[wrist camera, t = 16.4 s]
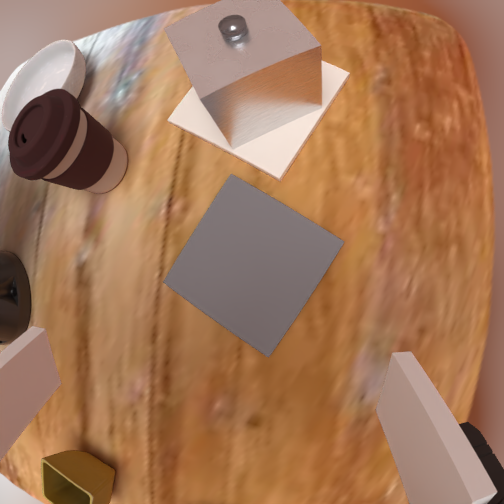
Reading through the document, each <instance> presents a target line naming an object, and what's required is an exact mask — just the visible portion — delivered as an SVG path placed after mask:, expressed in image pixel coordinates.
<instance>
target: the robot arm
mask: <svg viewBox="0 0 504 504" xmlns="http://www.w3.org/2000/svg"><path fill="white" fill-rule="evenodd" d="M30 308H31V299H30V288H29V283H28V278H27V275H26V272H25V269H24V267H23V265H22V263H21V262H20V260H19V259H18V258H17V256H15V255H14V254H13V253H11V252H6V251H0V345H6V344H10V345H9V346H7V347H6V348H5V349H4V350H3V351H1V352H0V461H1V460H2V458H3V457H4V456H5V454H6V453H7V452H8V450H9V449H10V448H11V446H12V445H13V444H14V442H15V441H16V440H17V438H18V437H19V436H20V435H21V433H22V432H23V431H24V429H25V428H26V427H27V426H28V424H29V423H30V422H31V421H32V419H33V418H34V417H35V416H36V414H37V413H38V412H39V411H40V409H41V408H42V407H43V406H44V404H45V403H46V402H47V401H48V399H49V398H50V397H51V396H52V395H53V393H54V392H55V391H56V390H57V388H58V387H59V386H60V385H61V384H62V383H61V380H60V377H59V374H58V371H57V368H56V364H55V361H54V358H53V354H52V351H51V347H50V344H49V340H48V336H47V332H46V329H44V328H39V327H35V326H32V327H31V328H29V329H28V330H27V331H26V329H27V326H28V323H29V317H30ZM25 331H26V332H25ZM376 412H377V415H378V418H379V420H380V423H381V425H382V428H383V431H384V433H385V436H386V439H387V441H388V444H389V447H390V450H391V452H392V455H393V458H394V461H395V463H396V466H397V469H398V472H399V475H400V477H401V480H402V483H403V486H404V489H405V492H406V495H407V498H408V501H409V504H504V469H503V467H502V466H501V464H500V463H499V461H498V459H497V458H496V456H495V454H493V453H492V449H491V448H490V446H489V445H487V442H486V440H485V438H484V437H483V435H482V434H481V432H480V431H479V430H478V429H477V428H475V427H474V426H473V425H471V424H470V423H469V422H466V423H461V424H458V423H457V421H456V419H455V418H454V416H453V415H452V413H451V411H450V410H449V408H448V407H447V405H446V403H445V402H444V400H443V399H442V397H441V396H440V394H439V393H438V391H437V390H436V388H435V386H434V385H433V383H432V382H431V380H430V379H429V377H428V376H427V374H426V373H425V371H424V370H423V368H422V367H421V366H420V364H419V363H418V361H417V360H416V358H415V357H414V355H413V354H412V352H396V353H392V356H391V359H390V363H389V367H388V370H387V374H386V378H385V381H384V384H383V388H382V391H381V394H380V398H379V401H378V404H377V407H376Z"/></svg>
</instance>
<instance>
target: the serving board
mask: <svg viewBox="0 0 504 504" xmlns="http://www.w3.org/2000/svg"><path fill="white" fill-rule="evenodd" d="M348 78H349V72H347V71H344V70H342V69H340V68H338V67H336V66H333V65H331V64H329V63H326V62H324V61H322V108H321V109H319V110H316V111H314V112H312V113H310V114H307V115H305V116H303V117H301V118H298V119H296V120H294V121H292V122H289V123H287V124H285V125H283V126H281V127H279V128H276V129H274V130H272V131H270V132H268V133H266V134H264V135H262V136H260V137H258V138H256V139H254V140H252V141H250V142H248V143H245V144H243V145H241V146H240V147H238V148H236V149H234V150H233V149H232V148H231V146H230V145H229V143H228V141H227V140H226V138H225V137H224V135H223V134H222V132H221V131H220V129H219V128H218V126H217V125H216V123H215V122H214V120H213V119H212V117H211V116H210V114H209V113H208V111H207V110H206V108H205V107H204V105H203V104H202V102H201V101H200V99H199V97H198V95H197V93H196V91H195V89H194V87H193V86H192V88H191V89H190V90H189V92H188V93H187V94H186V96H185V97H184V98H183V99H182V101H181V102H180V103H179V105H178V106H177V107H176V109H175V110H174V112H173V113H172V114H171V116H170V117H169V118H168V122H169V123H170V124H172V125H174V126H176V127H178V128H180V129H182V130H184V131H187V132H189V133H191V134H192V135H194V136H196V137H198V138H200V139H202V140H204V141H206V142H208V143H210V144H212V145H214V146H216V147H218V148H220V149H222V150H224V151H225V152H227V153H229V154H231V155H233V156H235V157H237V158H239V159H240V160H242V161H244V162H246V163H248V164H250V165H251V166H253V167H255V168H257V169H259V170H260V171H262V172H264V173H266V174H268V175H269V176H271V177H273V178H275V179H276V180H278V181H280V182H281V180H282V179H283V177H284V176H285V174H286V172H287V171H288V169H289V168H290V166H291V165H292V163H293V162H294V160H295V159H296V157H297V156H298V154H299V152H300V151H301V149H302V148H303V146H304V145H305V143H306V142H307V140H308V139H309V137H310V136H311V134H312V133H313V131H314V130H315V128H316V127H317V125H318V124H319V122H320V120H321V119H322V117H323V116H324V114H325V113H326V111H327V110H328V108H329V107H330V105H331V104H332V102H333V101H334V99H335V98H336V96H337V95H338V93H339V92H340V90H341V89H342V87H343V86H344V84H345V83H346V81H347V80H348Z"/></svg>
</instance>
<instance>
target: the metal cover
mask: <svg viewBox="0 0 504 504" xmlns="http://www.w3.org/2000/svg"><path fill="white" fill-rule="evenodd" d="M164 30H165V32H166V34H167V36H168V38H169V40H170V42H171V44H172V46H173V48H174V49H175V51H176V53H177V55H178V57H179V59H180V61H181V63H182V65H183V67H184V69H185V71H186V73H187V75H188V77H189V79H190V81H191V83H192V85H193V87H194V89H195V91H196V93H197V95H198V97H199V99H200V101H201V102H202V104H203V105H204V107H205V108H206V110H207V111H208V113H209V114H210V116H211V117H212V119H213V120H214V122H215V123H216V125H217V126H218V128H219V129H220V131H221V132H222V134H223V135H224V137H225V138H226V140H227V141H228V143H229V145H230V146H231V148H232V149H233V150H234V149H236V148H238V147H240V146H241V145H243V144H245V143H248V142H250V141H252V140H254V139H256V138H258V137H260V136H262V135H264V134H266V133H268V132H270V131H272V130H274V129H276V128H279V127H281V126H283V125H285V124H287V123H289V122H292V121H294V120H296V119H298V118H301V117H303V116H305V115H307V114H310V113H312V112H314V111H316V110H319V109H321V108H322V57H321V45H320V43H319V42H318V41H317V40H316V39H315V38H314V36H313V35H312V34H311V33H310V32H309V31H308V30H307V29H306V27H305V26H304V25H303V24H302V23H301V22H300V21H299V20H298V19H297V18H296V17H295V16H294V14H293V13H292V12H291V11H290V10H289V9H288V8H287V7H286V6H285V5H284V4H283V3H282V2H281V1H280V0H222V1H219V2H217V3H215V4H212V5H210V6H208V7H206V8H204V9H201V10H199V11H197V12H195V13H193V14H191V15H189V16H187V17H185V18H183V19H181V20H179V21H177V22H175V23H173V24H171V25H170V26H168V27H166V28H164Z"/></svg>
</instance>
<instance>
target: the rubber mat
mask: <svg viewBox="0 0 504 504" xmlns="http://www.w3.org/2000/svg"><path fill="white" fill-rule="evenodd" d="M343 243H344V241H342V240H341V239H339V238H338V237H336V236H335V235H333V234H331V233H330V232H328V231H327V230H325V229H323V228H322V227H320V226H319V225H317V224H315V223H314V222H312V221H310V220H309V219H307V218H306V217H304V216H302V215H301V214H299V213H297V212H296V211H294V210H292V209H291V208H289V207H287V206H286V205H284V204H282V203H281V202H279V201H277V200H276V199H274V198H272V197H271V196H269V195H267V194H265V193H264V192H262V191H260V190H259V189H257V188H255V187H253V186H252V185H250V184H248V183H246V182H245V181H243V180H241V179H239V178H238V177H236V176H234V175H232V174H231V175H230V176H229V178H228V179H227V181H226V182H225V184H224V185H223V187H222V188H221V190H220V191H219V193H218V194H217V196H216V197H215V199H214V201H213V202H212V204H211V205H210V207H209V208H208V210H207V211H206V213H205V215H204V216H203V218H202V219H201V221H200V223H199V224H198V226H197V227H196V229H195V230H194V232H193V234H192V235H191V237H190V239H189V240H188V242H187V243H186V245H185V247H184V248H183V250H182V252H181V253H180V255H179V256H178V258H177V260H176V261H175V263H174V265H173V266H172V268H171V270H170V271H169V273H168V275H167V276H166V278H165V280H164V281H163V283H165V284H166V285H167V286H169V287H170V288H171V289H173V290H174V291H175V292H177V293H178V294H179V295H181V296H182V297H183V298H185V299H186V300H187V301H189V302H190V303H191V304H193V305H194V306H195V307H197V308H198V309H199V310H201V311H202V312H204V313H205V314H206V315H208V316H209V317H211V318H212V319H213V320H215V321H216V322H218V323H219V324H220V325H222V326H223V327H225V328H226V329H227V330H229V331H230V332H232V333H233V334H235V335H236V336H237V337H239V338H240V339H242V340H243V341H245V342H246V343H248V344H249V345H251V346H252V347H254V348H255V349H257V350H258V351H259V352H261V353H262V354H264V355H265V356H267V357H268V358H269V356H270V355H271V354H272V352H273V351H274V349H275V348H276V346H277V345H278V343H279V342H280V341H281V339H282V338H283V336H284V335H285V333H286V332H287V330H288V329H289V327H290V326H291V325H292V323H293V322H294V320H295V319H296V317H297V316H298V314H299V313H300V311H301V310H302V308H303V307H304V305H305V304H306V302H307V300H308V299H309V297H310V296H311V294H312V293H313V291H314V290H315V288H316V287H317V285H318V283H319V282H320V280H321V279H322V277H323V276H324V274H325V272H326V271H327V269H328V268H329V266H330V265H331V263H332V261H333V260H334V258H335V256H336V255H337V253H338V252H339V250H340V248H341V247H342V245H343Z"/></svg>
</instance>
